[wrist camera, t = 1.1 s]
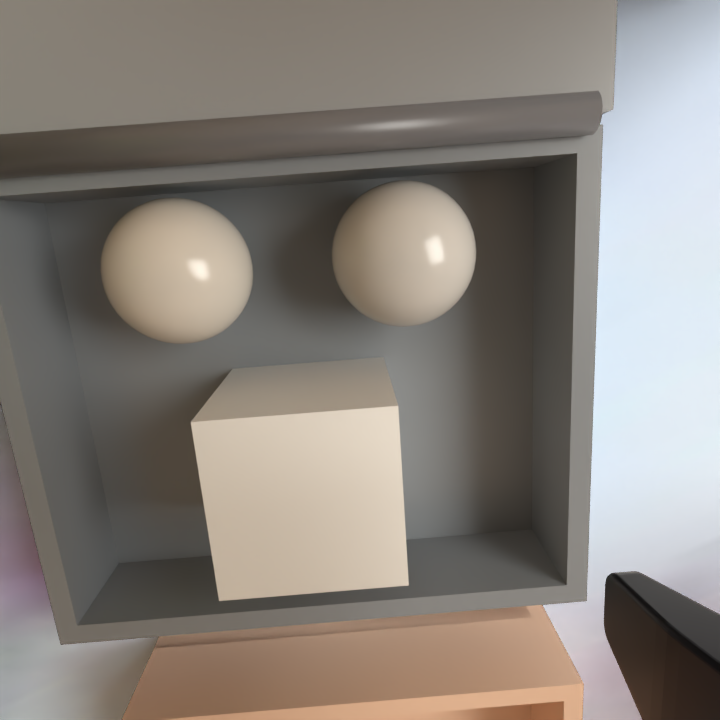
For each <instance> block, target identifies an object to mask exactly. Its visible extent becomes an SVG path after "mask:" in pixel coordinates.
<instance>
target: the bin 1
mask: <svg viewBox="0 0 720 720" xmlns="http://www.w3.org/2000/svg"><path fill="white" fill-rule="evenodd" d="M617 1H618V0H0V402H1V406H2V410H3V414H4V418H5V422H6V426H7V430H8V434H9V438H10V442H11V446H12V450H13V454H14V458H15V462H16V466H17V470H18V474H19V478H20V483H21V487H22V491H23V495H24V499H25V503H26V507H27V511H28V515H29V519H30V523H31V527H32V531H33V535H34V539H35V543H36V547H37V551H38V555H39V559H40V563H41V567H42V571H43V575H44V579H45V583H46V587H47V591H48V595H49V599H50V603H51V607H52V611H53V615H54V619H55V623H56V627H57V632H58V636H59V640H60V644H61V645H63V644H75V643H87V642H99V641H111V640H123V639H135V638H147V637H159V636H171V635H183V634H195V633H208V632H220V631H232V630H244V629H256V628H268V627H280V626H292V625H304V624H316V623H328V622H340V621H352V620H364V619H376V618H388V617H400V616H412V615H424V614H436V613H448V612H460V611H472V610H485V609H497V608H509V607H521V606H533V605H545V604H557V603H569V602H581V601H587V572H588V543H589V514H590V485H591V456H592V428H593V399H594V370H595V341H596V312H597V284H598V255H599V226H600V197H601V168H602V140H603V125H600V122H601V117H602V114H604V113H606V112H608V111H611V110H613V104H614V79H615V53H616V27H617ZM399 180H412V181H419V182H423V183H427V184H430V185H432V186H434V187H437V188H439V189H440V190H442V191H444V192H445V193H447V194H448V195H449V196H450V197H451V198H453V199H454V200H455V201H456V202H457V204H458V205H459V206H460V207H461V208H462V210H463V211H464V213H465V214H466V216H467V218H468V220H469V222H470V224H471V227H472V230H473V232H474V237H475V242H476V262H475V268H474V272H473V275H472V279H471V281H470V283H469V285H468V287H467V289H466V291H465V292H464V294H463V296H462V297H461V298H460V299H459V301H458V302H457V303H456V304H455V305H454V306H453V307H452V308H451V309H450V310H448V311H447V312H446V313H444V314H443V315H441V316H440V317H438V318H436V319H434V320H432V321H430V322H427V323H424V324H420V325H415V326H408V327H398V326H389V325H386V324H382V323H379V322H376V321H374V320H372V319H370V318H368V317H366V316H365V315H363V314H362V313H361V312H359V311H358V310H357V309H356V308H355V307H354V306H353V305H352V304H351V303H350V302H349V301H348V300H347V298H346V297H345V296H344V294H343V292H342V291H341V289H340V287H339V285H338V283H337V280H336V277H335V274H334V270H333V264H332V245H333V239H334V235H335V231H336V229H337V226H338V224H339V222H340V220H341V218H342V216H343V214H344V213H345V212H346V210H347V209H348V207H349V206H350V205H351V204H352V203H353V202H354V201H355V200H356V199H357V198H358V197H360V196H361V195H362V194H363V193H365V192H367V191H368V190H370V189H371V188H374V187H376V186H378V185H381V184H384V183H387V182H392V181H399ZM160 198H186V199H191V200H195V201H198V202H201V203H203V204H206V205H208V206H210V207H212V208H213V209H215V210H217V211H219V212H220V213H221V214H223V215H224V216H225V217H226V218H227V219H228V220H230V221H231V222H232V223H233V225H234V226H235V227H236V228H237V229H238V231H239V232H240V234H241V235H242V237H243V238H244V240H245V243H246V245H247V247H248V249H249V252H250V256H251V260H252V265H253V284H252V289H251V294H250V296H249V299H248V302H247V304H246V306H245V308H244V310H243V311H242V312H241V314H240V315H239V317H238V318H237V319H236V320H235V321H234V322H233V323H232V324H231V325H230V326H229V327H228V328H227V329H225V330H224V331H222V332H221V333H219V334H217V335H216V336H214V337H211V338H209V339H207V340H203V341H200V342H195V343H188V344H173V343H166V342H162V341H158V340H155V339H152V338H150V337H147V336H145V335H143V334H141V333H139V332H138V331H136V330H135V329H133V328H132V327H130V326H129V325H128V324H127V323H126V322H125V321H124V320H123V319H122V318H121V317H120V316H119V315H118V314H117V312H116V311H115V310H114V308H113V307H112V305H111V303H110V302H109V300H108V298H107V295H106V293H105V290H104V287H103V283H102V279H101V255H102V250H103V247H104V243H105V241H106V239H107V237H108V235H109V233H110V231H111V230H112V228H113V227H114V225H115V224H116V223H117V222H118V221H119V219H120V218H121V217H123V216H124V215H125V214H126V213H127V212H129V211H130V210H132V209H133V208H135V207H137V206H139V205H141V204H143V203H145V202H148V201H151V200H155V199H160ZM377 357H384V361H385V364H386V367H387V370H388V374H389V377H390V380H391V384H392V387H393V390H394V393H395V397H396V400H397V403H398V410H399V427H400V444H401V461H402V478H403V495H404V512H405V529H406V546H407V563H408V581H409V585H408V586H396V587H384V588H371V589H359V590H347V591H335V592H323V593H311V594H299V595H287V596H274V597H262V598H250V599H238V600H226V601H219V597H218V591H217V585H216V578H215V572H214V566H213V560H212V553H211V547H210V541H209V534H208V528H207V522H206V516H205V509H204V503H203V497H202V490H201V484H200V478H199V472H198V465H197V459H196V453H195V446H194V440H193V434H192V428H191V421H192V420H193V419H194V417H195V416H196V415H197V413H198V412H199V411H200V410H201V408H202V407H203V406H204V405H205V403H206V402H207V401H208V399H209V398H210V397H211V396H212V394H213V393H214V392H215V391H216V389H217V388H218V387H219V386H220V384H221V383H222V382H223V380H224V379H225V378H226V377H227V375H228V374H229V373H230V372H231V370H232V369H236V368H248V367H261V366H274V365H287V364H300V363H313V362H326V361H338V360H351V359H364V358H377Z"/></svg>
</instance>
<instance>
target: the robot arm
mask: <svg viewBox="0 0 720 720" xmlns="http://www.w3.org/2000/svg"><path fill="white" fill-rule="evenodd" d="M604 628H605V633H606V636H607V640H608V642H609V644H610V647H611V649H612V651H613V654H614V656H615V658H616V660H617V663H618V665H619V667H620V670H621V672H622V674H623V676H624V679H625V681H626V683H627V685H628V688H629V690H630V692H631V695H632V697H633V699H634V701H635V704H636V706H637V708H638V711H639V713H640V715H641V717H642V720H720V614H718V613H716V612H714V611H712V610H710V609H709V608H707V607H705V606H703V605H701V604H699V603H697V602H695V601H693V600H691V599H689V598H688V597H686V596H684V595H682V594H680V593H678V592H676V591H674V590H672V589H670V588H669V587H667V586H665V585H663V584H661V583H659V582H657V581H655V580H653V579H651V578H649V577H648V576H646V575H644V574H642V573H640V572H636V571H631V572H619V573H611V574H610V575H609V576H608V577H607V579H606V584H605V606H604Z"/></svg>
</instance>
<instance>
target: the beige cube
mask: <svg viewBox="0 0 720 720" xmlns="http://www.w3.org/2000/svg"><path fill="white" fill-rule="evenodd" d="M191 428H192V434H193V440H194V446H195V453H196V459H197V465H198V472H199V478H200V484H201V490H202V497H203V503H204V509H205V516H206V522H207V528H208V534H209V541H210V547H211V553H212V560H213V566H214V572H215V578H216V585H217V591H218V597H219V601H226V600H238V599H250V598H262V597H274V596H287V595H299V594H311V593H323V592H335V591H347V590H359V589H371V588H384V587H396V586H408V585H409V581H408V563H407V546H406V529H405V512H404V495H403V478H402V461H401V444H400V427H399V410H398V403H397V400H396V397H395V393H394V390H393V387H392V384H391V380H390V377H389V374H388V370H387V367H386V364H385V361H384V357H377V358H364V359H351V360H338V361H326V362H313V363H300V364H287V365H274V366H261V367H248V368H236V369H232V370H231V372H230V373H229V374H228V375H227V377H226V378H225V379H224V380H223V382H222V383H221V384H220V386H219V387H218V388H217V389H216V391H215V392H214V393H213V394H212V396H211V397H210V398H209V399H208V401H207V402H206V403H205V405H204V406H203V407H202V408H201V410H200V411H199V412H198V413H197V415H196V416H195V417H194V419H193V420H192V421H191Z"/></svg>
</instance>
